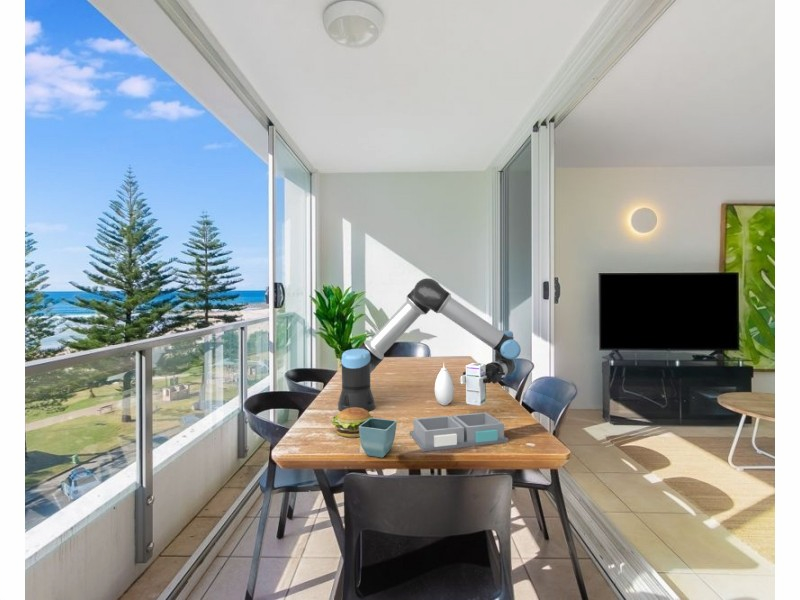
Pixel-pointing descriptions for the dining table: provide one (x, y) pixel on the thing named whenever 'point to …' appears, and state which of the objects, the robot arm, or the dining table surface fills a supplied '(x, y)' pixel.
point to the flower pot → (377, 436)
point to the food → (350, 421)
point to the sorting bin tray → (457, 431)
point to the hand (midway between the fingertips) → (469, 381)
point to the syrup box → (475, 384)
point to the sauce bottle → (444, 387)
